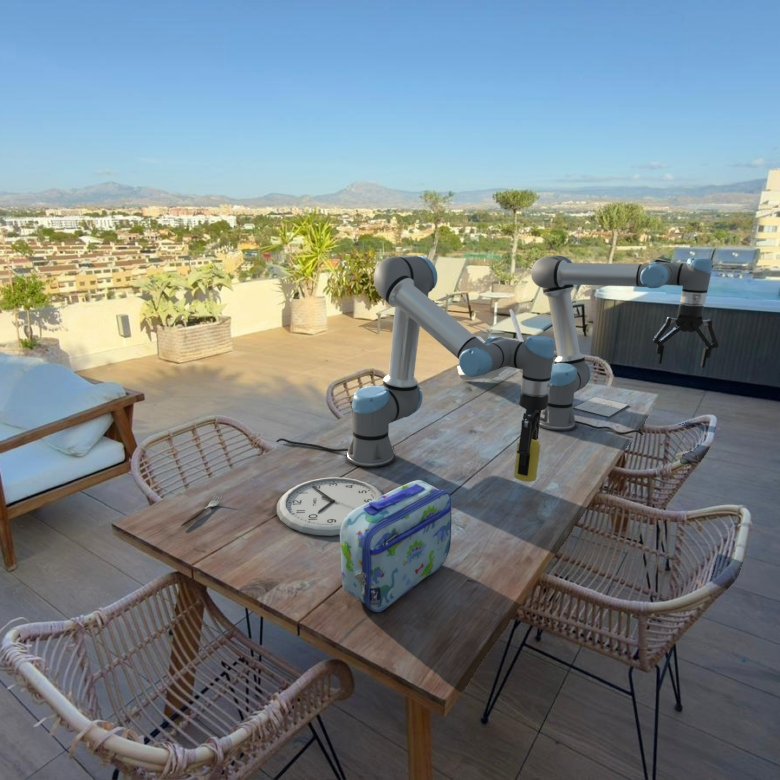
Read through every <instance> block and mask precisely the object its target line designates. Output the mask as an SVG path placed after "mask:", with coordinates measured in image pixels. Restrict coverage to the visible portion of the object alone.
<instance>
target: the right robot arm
mask: <svg viewBox="0 0 780 780" xmlns="http://www.w3.org/2000/svg"><path fill="white" fill-rule="evenodd" d="M713 263H714V262H713V259H712V258H709V257H689V258H688V259H687V261H686V262H684V263H683V262H682V263H680V262H679V263H678V262H665V261H651V262H649V263H601V262H599V263H595V262H593V263H587V262H585V263H584V262H573V261H572V260H571V259H570V258H568V257H566V256H563V255H553V256H544V257H541V258H539V259H537V260H536V261H535V262H534V264H533V265H532V267H531V270H530V271H531V272H530V276H531V280H532V283H534V284H535V285H536V286H537V287H539V288H542V293H543V295H544V296H546V297H547V299H548V305H549V313H550V317H551V323H552V330H553V336H554V343H555V344H554V345H555V350H556V355H557V356H556V357H555V359H553V365H552V372H551V379H550V384H552V387H549V393H548V394H547V395H548V396H549V397H548V405H547V408H546V409H544V410H542V411H541V416H540V425H539V428H542V429H544V430H549V431H556V432H567V431H572V430H574V429H575V428H576V424H578V425H582V426H586V427H589V428H592V429H595V430H605V429H606V430H610V431H612V432H613V433H614V434H617V435H629V434H632V433H638V434H640V435H641V436H644V433H643V432H642V431H641V430H638V429H631V430H628V431H618V430H616V429H614V428H612V427H611V426H606V425H605V426H604V425H603V426H597V425H592V424H590V423H586V422H582V421H579V420H576V418H575V417H576V416H575V413H574V407H573V405H574V398H575V393H577V392H578V391H580V390H582V389H584V388H585V387H586V386H587V385H588V383H589V382H590V380H591V377H592V371H591V367H590V366H589V365H588V364H587V362H586V357H585V355H584V354H583V353H581V351H580V345H579V340H578V339H579V338H578V332H577V325H576V319H575V313H574V306H573V300H572V291H573V290H574V288H575V285H578V286H603V287H604V286H606V287H633V288H634V287H638V288H648V289H659V288H661V287H663V286H678V287H679V286H680V287H682V290H681V294H680V299H679V302H680V304H679V306H678V310H677V315H676V318H675V317H671V316H667V317H666V319H665V322H664V324H663V325H662V327H660V329H659V330H658V332H657V333H656V334H655V335H654V337H653V338H652V339H651V340H652V342H653V344H656V345H657V346H656V352H655V353H656V354H657V355H658V359H657V363H658V365H659V364H660V365H662V361H663V357H664V351H665V345H664V344H665V343H666V342H667V341H668V340H669V339H671V338H672V337H673V336H675V335H677V333H679V332H680V331H681V332H684V333H685V332H688V333H694V332H695V333H696V334H697V335H698V337H699V339H700V340H701V341H702V342H703V344H704V345H705V346H706V347H703V351H702V355H701V361H700V367H701V368H703V369H704V368H705V367H706V363H707V362H706V361H707V359H710V358H711V354H712V350H713V349H716V348H717V349H718V348H719V343H718V340H717V337H716V335H715V332H714V329H713V320H712V319H709V318H708V319H703V317H704V312H705V311H704V310H705V306H704V305H706V300H707V295H708V289H709V287H710V286H709V285H710V282H711V281H710V280H711V275H712V271H713V270H712V269H713ZM672 324H675V326H674V327H673V328H672V329H671V330H670V331H668V332H667V333H666V334H665V332H666V331H667V330H668V329H669V327H670V326H671V325H672ZM702 325H704V327H706V330H707V333H708V336H709V338H710V341H711V343H710V342H709V340H708V339H707V337H706V336H705V334H704V333H703V332H702V330H701V328H700V327H701V326H702ZM664 334H665V335H664ZM663 335H664V336H663Z"/></svg>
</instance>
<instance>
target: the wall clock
mask: <svg viewBox="0 0 780 780" xmlns="http://www.w3.org/2000/svg"><path fill="white" fill-rule="evenodd" d="M384 494H385V493H383V492H382V491H381V490H380V489H379V488H377V487H376V486H374V485H372V484H371V483H369V482H365V481H362V480H359V479H355V478H349V477H338V476H337V477H335V476H333V477H332V476H331V477H322V478H317V479H312V480H307V481H305V482H302V483H299V484H297V485H295V486H293V487H292V488H290V489H288V490H287V491H286V492H285V493H284V494H283V495H281V496H280V498H279V499H278V502H277V503H276V515H277V517H278V518H279V520H280V521H281V522H282V523H283V524H285V525H286V526H287V527H288V528H290V529H293V530H295V531H297V532H299V533H303V534H308V535H312V536H327V537H328V536H329V537H331V536H332V537H333V536H340V530H341V526H342V523H343V521H344V519H345V518H346V516H347V515H348V514H349V513H350V512H351V511H353V510H354V509H356V508H358V507H360V506H362V505H364V504H366V503H368V502H370V501H372V500H374V499H376V498H378V497H380V496H382V495H384Z"/></svg>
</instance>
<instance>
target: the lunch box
mask: <svg viewBox="0 0 780 780" xmlns="http://www.w3.org/2000/svg"><path fill="white" fill-rule="evenodd" d="M383 494H384V495H382V496H380V497H378V498H376V499H374V500H372V501H370V502H368V503H366V504H364V505H362V506H360V507H358V508H356V509H354V510H353V511H351V512H350V513H349V514H348V515H347V516H346V518H345V519H344V521H343V523H342V526H341V530H340V535H339V551H340V574H341V576H340V577H341V585H342V588H343V589H342V590H343V591H344V593H346V594H348V595H350V596H352V597H353V598H355V599H357V600H358V601H359V602H361V603H362V604H364V605H365V606H366V608H367V609H369V610H370V611H371V612H374V613H381V612H384V611H385V610H386V609H387V608H389V607H390V606H391V605H392V604H393V603H395V602H396V601H397V600H399V599H400V598H401V597H402V596H404V595H405V594H407V593H408V592H410V591H411V590H412V589H413V588H415V587H416V586H417V585H418V584H419V583H420V582H421V581H423V580H425V579H426V578H427V577H429V576H430V575H432V574H434V573H435V572H436V571H438V570H439V569H440V568H441V567H442V566H443V565H444V563H445V562H446V560H447V558H448V556H449V553H450V550H451V549H450V548H451V545H452V543H451V542H452V497H451V494H450V492H449V491H448V490H446V489H438V488H437V487H435V486H434V485H431V484H429V483H427V482H426V481H424V480H421V479H416V480H413V481H410V482H408V483H405V484H403V485H401V486H399V487H397V488H394V489H393V490H390V491H388V492H387V493H383Z"/></svg>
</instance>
